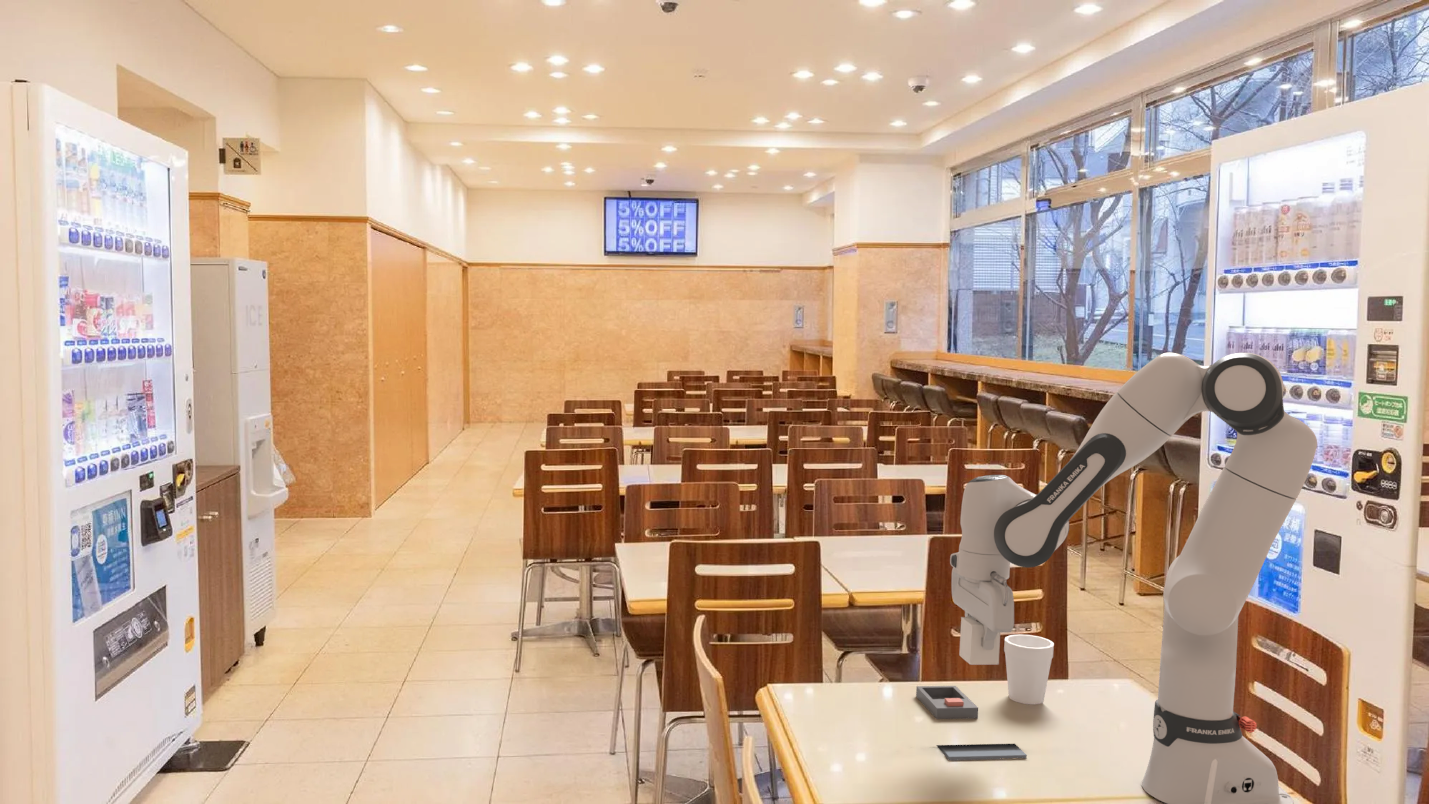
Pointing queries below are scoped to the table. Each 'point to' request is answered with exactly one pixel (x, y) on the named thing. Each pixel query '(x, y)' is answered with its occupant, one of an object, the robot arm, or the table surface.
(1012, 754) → the rubber mat
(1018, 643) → the foam cup
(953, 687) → the power strip
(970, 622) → the block
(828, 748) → the table surface
